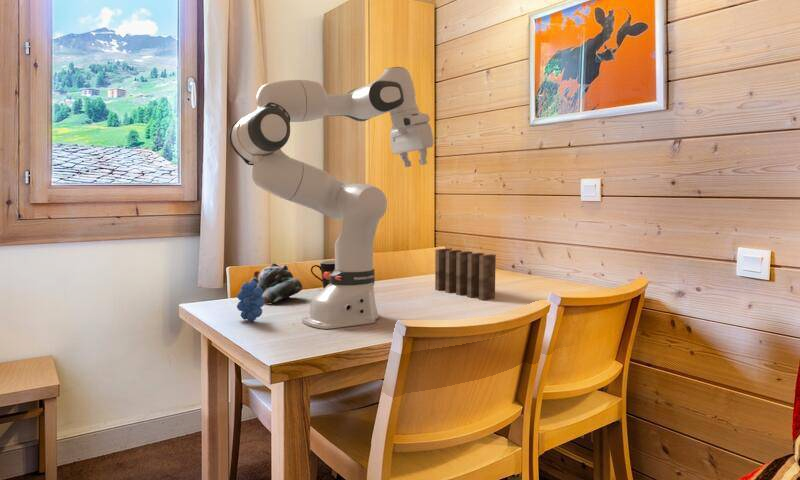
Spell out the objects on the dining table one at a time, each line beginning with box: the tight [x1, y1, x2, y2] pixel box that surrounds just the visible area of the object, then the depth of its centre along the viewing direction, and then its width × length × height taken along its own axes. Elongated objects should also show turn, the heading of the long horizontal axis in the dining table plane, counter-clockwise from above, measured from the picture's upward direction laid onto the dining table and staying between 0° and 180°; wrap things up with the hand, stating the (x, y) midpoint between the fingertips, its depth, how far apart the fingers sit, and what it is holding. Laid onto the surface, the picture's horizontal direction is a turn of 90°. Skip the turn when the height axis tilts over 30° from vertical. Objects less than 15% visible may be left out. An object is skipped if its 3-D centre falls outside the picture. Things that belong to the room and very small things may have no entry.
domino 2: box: [444, 249, 462, 294], centre depth 202 cm, size 6×2×15 cm, turn 128°
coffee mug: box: [310, 260, 335, 289], centre depth 209 cm, size 12×9×10 cm
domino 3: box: [455, 250, 473, 296], centre depth 198 cm, size 6×2×15 cm, turn 128°
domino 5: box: [478, 253, 497, 301], centre depth 189 cm, size 6×2×15 cm, turn 128°
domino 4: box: [466, 252, 485, 299], centre depth 194 cm, size 6×2×15 cm, turn 128°
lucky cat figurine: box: [249, 263, 303, 304], centre depth 188 cm, size 15×12×14 cm
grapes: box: [236, 280, 265, 323], centre depth 159 cm, size 12×7×12 cm, turn 50°
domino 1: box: [434, 247, 452, 292], centre depth 207 cm, size 6×2×15 cm, turn 128°
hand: (415, 165), depth 174 cm, fingers open, 8 cm apart
